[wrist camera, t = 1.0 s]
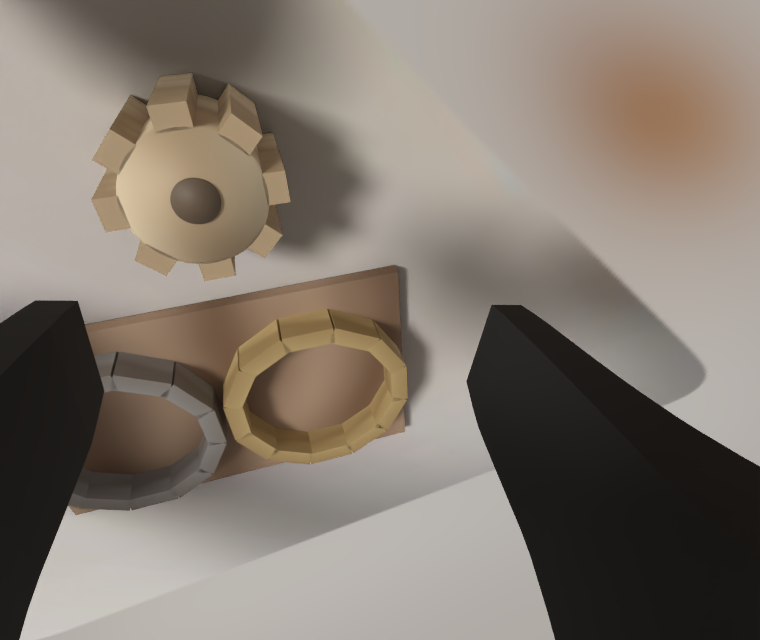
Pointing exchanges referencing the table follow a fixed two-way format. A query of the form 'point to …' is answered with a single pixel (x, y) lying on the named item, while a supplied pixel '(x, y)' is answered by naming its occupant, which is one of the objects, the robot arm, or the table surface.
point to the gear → (191, 178)
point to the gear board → (271, 390)
